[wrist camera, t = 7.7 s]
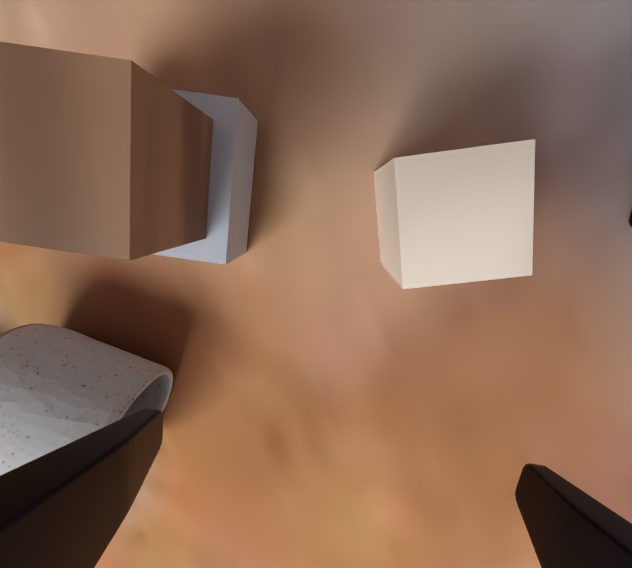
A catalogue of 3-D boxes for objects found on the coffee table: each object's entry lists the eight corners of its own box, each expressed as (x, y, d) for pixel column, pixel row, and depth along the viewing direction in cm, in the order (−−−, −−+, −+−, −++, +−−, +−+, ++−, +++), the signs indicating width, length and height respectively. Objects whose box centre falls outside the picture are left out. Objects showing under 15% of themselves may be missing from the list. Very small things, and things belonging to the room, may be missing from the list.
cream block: (468, 159, 18) (535, 139, 12) (469, 253, 19) (532, 275, 13) (373, 172, 18) (394, 157, 12) (380, 263, 19) (402, 289, 14)
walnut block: (213, 119, 14) (131, 60, 8) (205, 238, 15) (129, 260, 9) (95, 102, 14) (-71, 31, 8) (96, 222, 15) (-47, 234, 9)
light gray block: (257, 121, 18) (238, 98, 14) (246, 252, 19) (225, 264, 16) (126, 102, 18) (69, 74, 14) (126, 235, 19) (75, 243, 16)
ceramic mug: (59, 298, 21) (-96, 355, 13) (186, 346, 21) (106, 428, 14) (32, 435, 23) (-110, 547, 16) (145, 475, 24) (59, 603, 16)
